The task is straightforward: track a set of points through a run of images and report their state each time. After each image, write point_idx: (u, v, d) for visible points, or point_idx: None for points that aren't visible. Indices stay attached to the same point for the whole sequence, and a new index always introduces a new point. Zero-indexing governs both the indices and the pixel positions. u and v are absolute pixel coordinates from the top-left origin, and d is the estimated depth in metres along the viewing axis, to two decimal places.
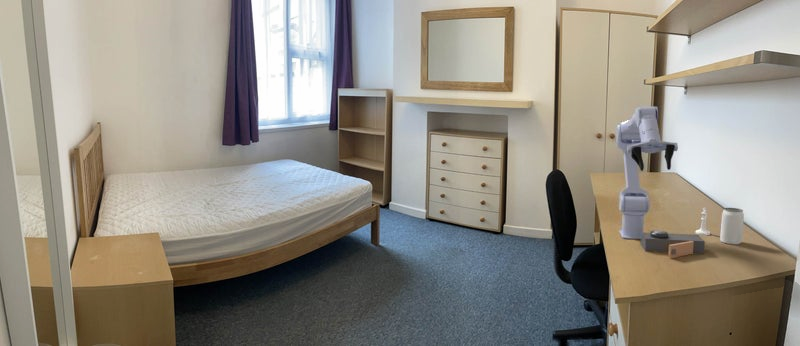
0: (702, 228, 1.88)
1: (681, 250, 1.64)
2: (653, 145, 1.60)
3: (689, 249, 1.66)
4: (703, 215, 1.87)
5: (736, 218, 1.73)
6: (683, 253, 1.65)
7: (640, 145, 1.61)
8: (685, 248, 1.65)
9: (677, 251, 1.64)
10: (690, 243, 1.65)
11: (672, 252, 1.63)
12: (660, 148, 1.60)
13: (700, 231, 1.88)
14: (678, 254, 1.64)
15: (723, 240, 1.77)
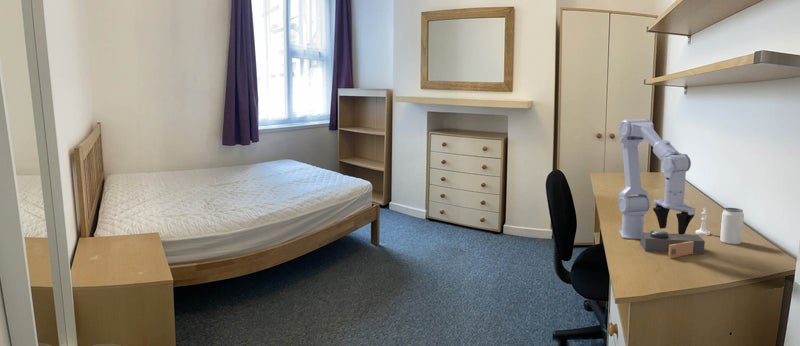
0: (702, 228, 1.88)
1: (681, 250, 1.64)
2: None
3: (689, 249, 1.66)
4: (703, 215, 1.87)
5: (736, 218, 1.73)
6: (683, 253, 1.65)
7: None
8: (685, 248, 1.65)
9: (677, 251, 1.64)
10: (690, 243, 1.65)
11: (672, 252, 1.63)
12: (678, 210, 1.62)
13: (700, 231, 1.88)
14: (678, 254, 1.64)
15: (723, 240, 1.77)
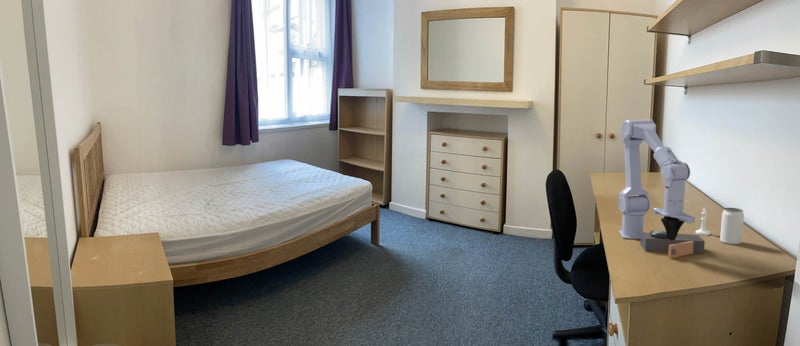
0: (702, 228, 1.88)
1: (681, 250, 1.64)
2: None
3: (689, 249, 1.66)
4: (703, 215, 1.87)
5: (736, 218, 1.73)
6: (683, 253, 1.65)
7: None
8: (685, 248, 1.65)
9: (677, 251, 1.64)
10: (690, 243, 1.65)
11: (672, 252, 1.63)
12: (678, 218, 1.62)
13: (700, 231, 1.88)
14: (678, 254, 1.64)
15: (723, 240, 1.77)
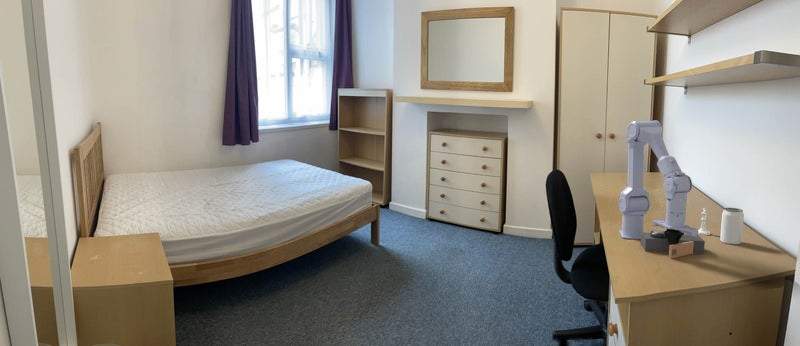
0: (702, 228, 1.88)
1: (681, 250, 1.64)
2: None
3: (690, 249, 1.66)
4: (703, 215, 1.87)
5: (736, 218, 1.73)
6: (683, 253, 1.65)
7: None
8: (685, 248, 1.65)
9: (678, 251, 1.64)
10: (690, 243, 1.65)
11: (673, 252, 1.63)
12: (680, 231, 1.62)
13: (700, 231, 1.88)
14: (678, 254, 1.64)
15: (723, 240, 1.77)
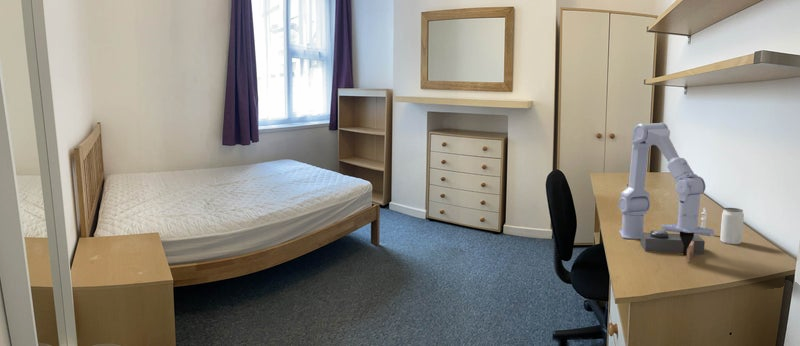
0: None
1: (691, 252, 1.62)
2: None
3: (693, 249, 1.65)
4: (703, 215, 1.87)
5: (736, 218, 1.73)
6: None
7: None
8: (692, 249, 1.64)
9: None
10: (693, 244, 1.65)
11: (690, 256, 1.59)
12: (695, 233, 1.59)
13: None
14: None
15: (723, 240, 1.77)
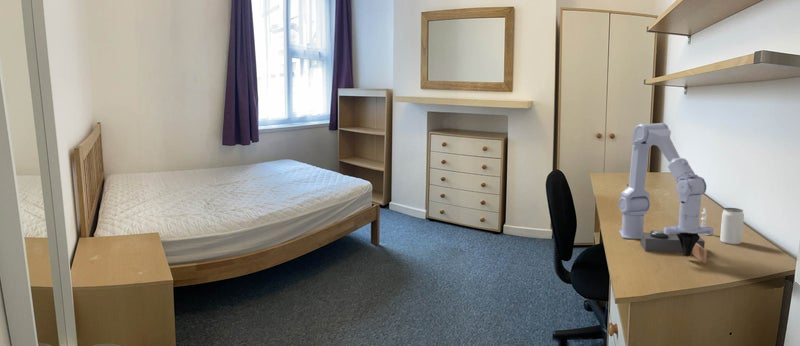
0: None
1: None
2: None
3: None
4: (703, 215, 1.87)
5: (736, 218, 1.73)
6: None
7: None
8: None
9: None
10: None
11: (706, 257, 1.57)
12: (696, 232, 1.60)
13: None
14: None
15: (723, 240, 1.77)
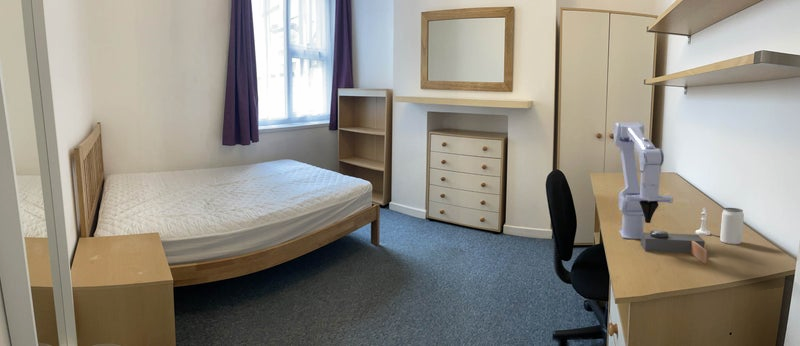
0: (702, 228, 1.88)
1: None
2: None
3: None
4: (703, 215, 1.87)
5: (736, 218, 1.73)
6: None
7: None
8: None
9: None
10: None
11: (707, 257, 1.57)
12: (656, 201, 1.70)
13: (700, 231, 1.88)
14: None
15: (723, 240, 1.77)
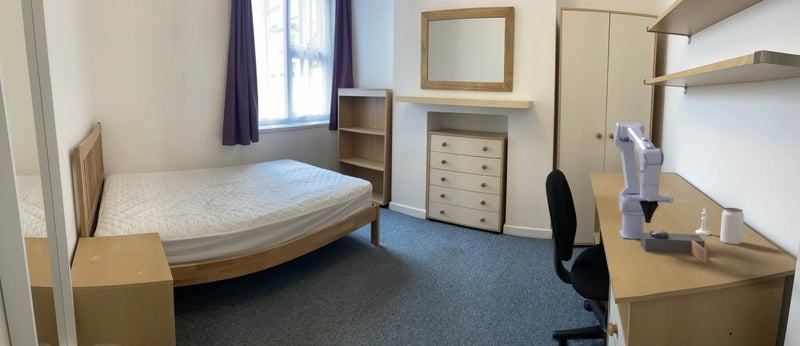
0: (702, 228, 1.88)
1: None
2: None
3: None
4: (703, 215, 1.87)
5: (736, 218, 1.73)
6: None
7: None
8: None
9: None
10: None
11: (707, 257, 1.57)
12: (656, 201, 1.70)
13: (700, 231, 1.88)
14: None
15: (723, 240, 1.77)
